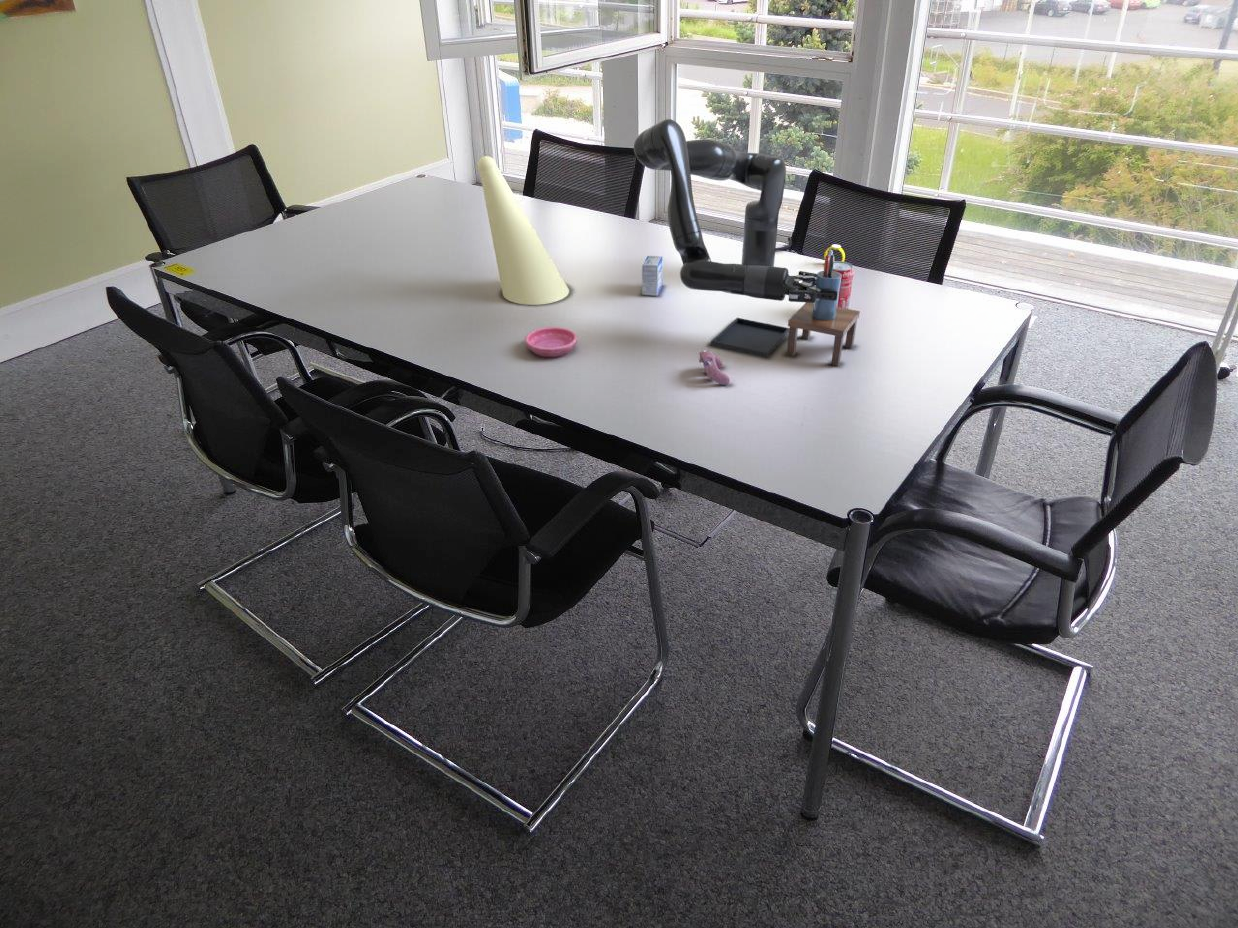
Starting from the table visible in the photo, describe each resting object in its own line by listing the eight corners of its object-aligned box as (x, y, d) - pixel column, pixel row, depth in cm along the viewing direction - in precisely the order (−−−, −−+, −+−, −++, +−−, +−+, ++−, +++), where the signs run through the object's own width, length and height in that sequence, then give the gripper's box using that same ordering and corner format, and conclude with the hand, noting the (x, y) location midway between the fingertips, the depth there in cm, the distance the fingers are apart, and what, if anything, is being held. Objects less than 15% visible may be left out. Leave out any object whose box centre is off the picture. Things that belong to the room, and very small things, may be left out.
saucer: (557, 364, 202) (557, 352, 200) (515, 353, 207) (514, 340, 206) (587, 345, 211) (587, 333, 209) (546, 334, 216) (545, 322, 214)
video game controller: (705, 373, 201) (693, 348, 197) (723, 364, 200) (711, 339, 197) (713, 393, 193) (700, 368, 189) (731, 384, 192) (719, 359, 188)
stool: (802, 335, 215) (806, 301, 210) (854, 346, 209) (860, 311, 204) (784, 355, 205) (788, 320, 200) (838, 367, 200) (843, 331, 195)
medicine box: (657, 296, 237) (658, 265, 232) (641, 295, 237) (641, 264, 233) (662, 286, 243) (662, 256, 238) (646, 285, 244) (647, 255, 239)
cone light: (581, 287, 243) (577, 158, 224) (545, 309, 230) (537, 174, 211) (509, 272, 253) (499, 148, 234) (471, 293, 240) (457, 162, 221)
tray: (736, 321, 222) (737, 317, 221) (789, 332, 216) (790, 328, 215) (710, 345, 210) (711, 341, 209) (766, 357, 204) (766, 353, 203)
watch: (821, 264, 257) (824, 245, 253) (825, 262, 259) (828, 242, 255) (840, 268, 254) (843, 249, 250) (844, 266, 256) (847, 246, 252)
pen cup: (816, 309, 205) (824, 245, 197) (838, 313, 203) (847, 249, 195) (809, 317, 201) (816, 252, 193) (831, 322, 199) (840, 256, 191)
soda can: (849, 310, 228) (856, 262, 221) (845, 320, 222) (852, 271, 215) (821, 306, 230) (827, 259, 223) (817, 317, 224) (824, 268, 217)
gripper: (760, 277, 195) (837, 286, 190) (772, 257, 206) (845, 264, 202) (758, 309, 199) (832, 318, 194) (770, 287, 210) (840, 295, 206)
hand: (838, 290), depth 198 cm, fingers open, 5 cm apart
